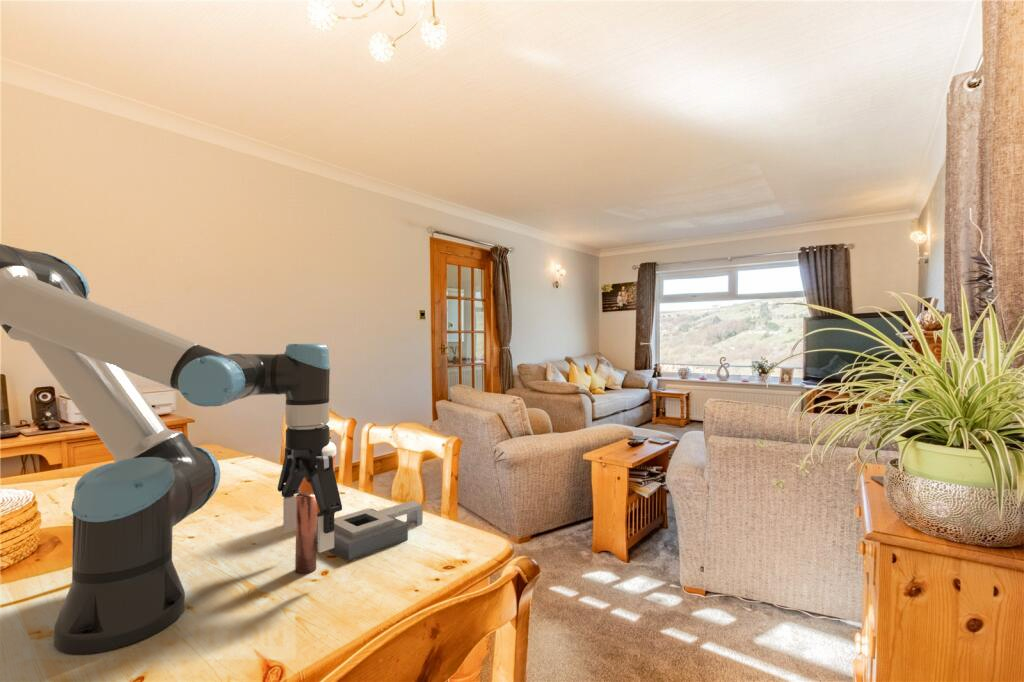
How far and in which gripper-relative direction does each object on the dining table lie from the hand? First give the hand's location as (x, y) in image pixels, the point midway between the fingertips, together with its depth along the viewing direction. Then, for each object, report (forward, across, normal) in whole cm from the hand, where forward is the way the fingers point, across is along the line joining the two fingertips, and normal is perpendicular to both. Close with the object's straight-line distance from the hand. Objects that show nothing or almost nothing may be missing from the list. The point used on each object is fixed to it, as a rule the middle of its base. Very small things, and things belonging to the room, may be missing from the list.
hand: (307, 539), depth 88 cm
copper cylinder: (+6, 0, 0) cm, 6 cm away
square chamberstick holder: (+6, +4, -14) cm, 15 cm away
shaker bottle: (+6, +22, -13) cm, 26 cm away
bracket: (+6, +4, -19) cm, 20 cm away
